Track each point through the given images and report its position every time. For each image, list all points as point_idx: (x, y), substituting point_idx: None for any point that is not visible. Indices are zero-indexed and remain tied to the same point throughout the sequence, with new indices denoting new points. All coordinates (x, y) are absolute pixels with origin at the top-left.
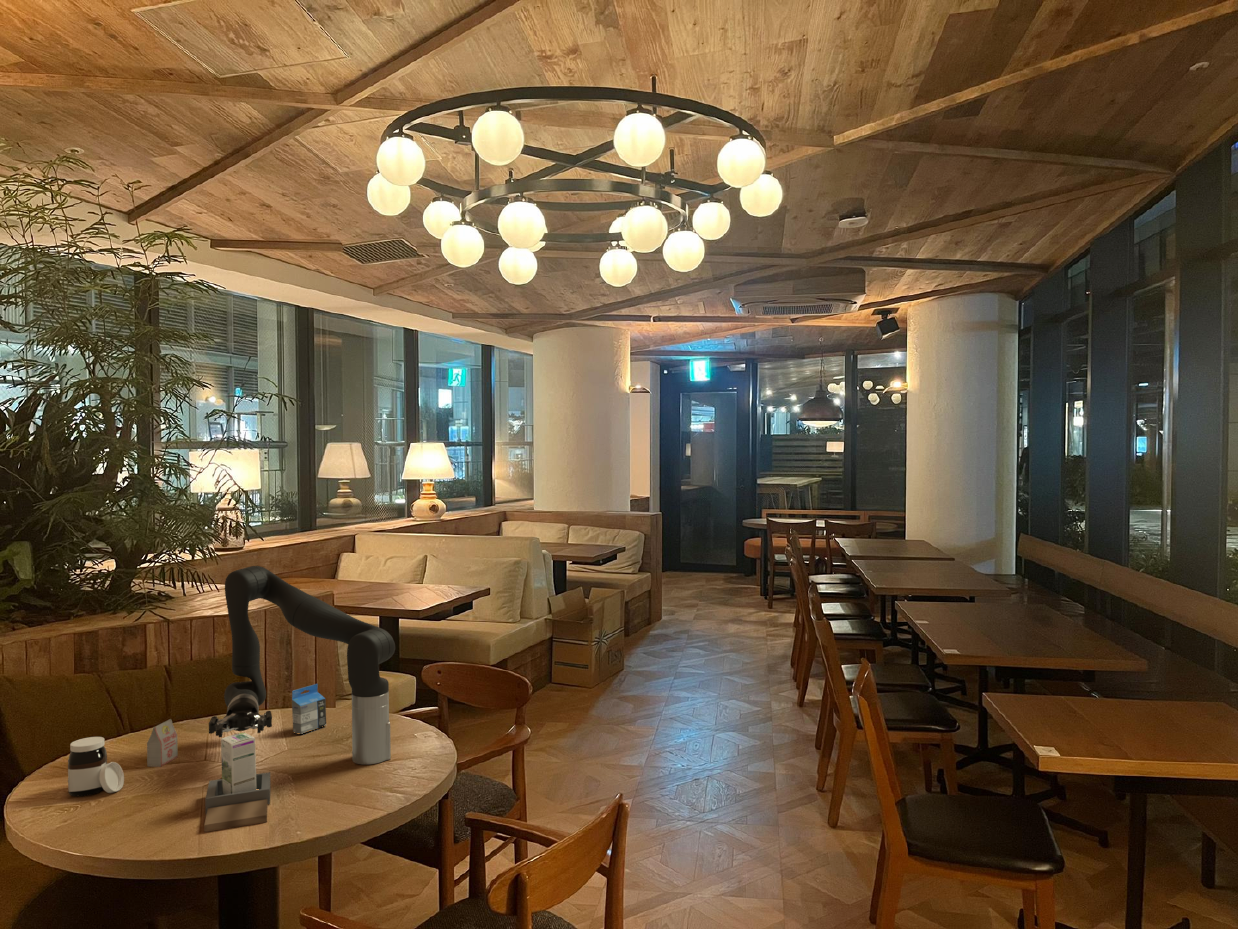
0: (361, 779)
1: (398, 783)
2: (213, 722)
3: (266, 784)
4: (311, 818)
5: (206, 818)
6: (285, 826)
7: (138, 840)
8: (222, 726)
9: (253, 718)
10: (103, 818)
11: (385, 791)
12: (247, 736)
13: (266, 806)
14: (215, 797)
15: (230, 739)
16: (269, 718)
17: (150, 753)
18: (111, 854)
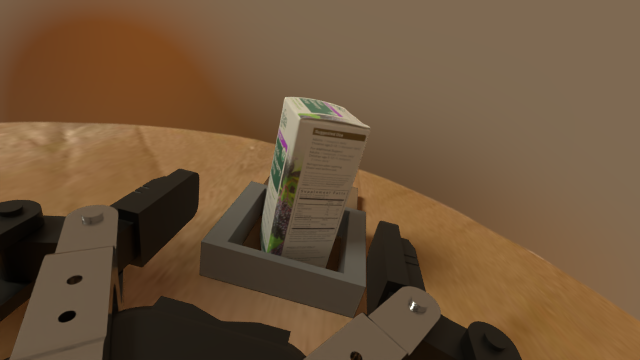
0: (17, 189)
1: (10, 147)
2: (481, 348)
3: (247, 196)
4: (221, 155)
5: (356, 199)
6: (258, 160)
7: (440, 225)
8: (382, 262)
9: (116, 272)
10: (573, 343)
11: (67, 145)
12: (301, 102)
13: (267, 180)
14: (347, 207)
15: (345, 113)
16: (33, 205)
17: None
18: (458, 215)
